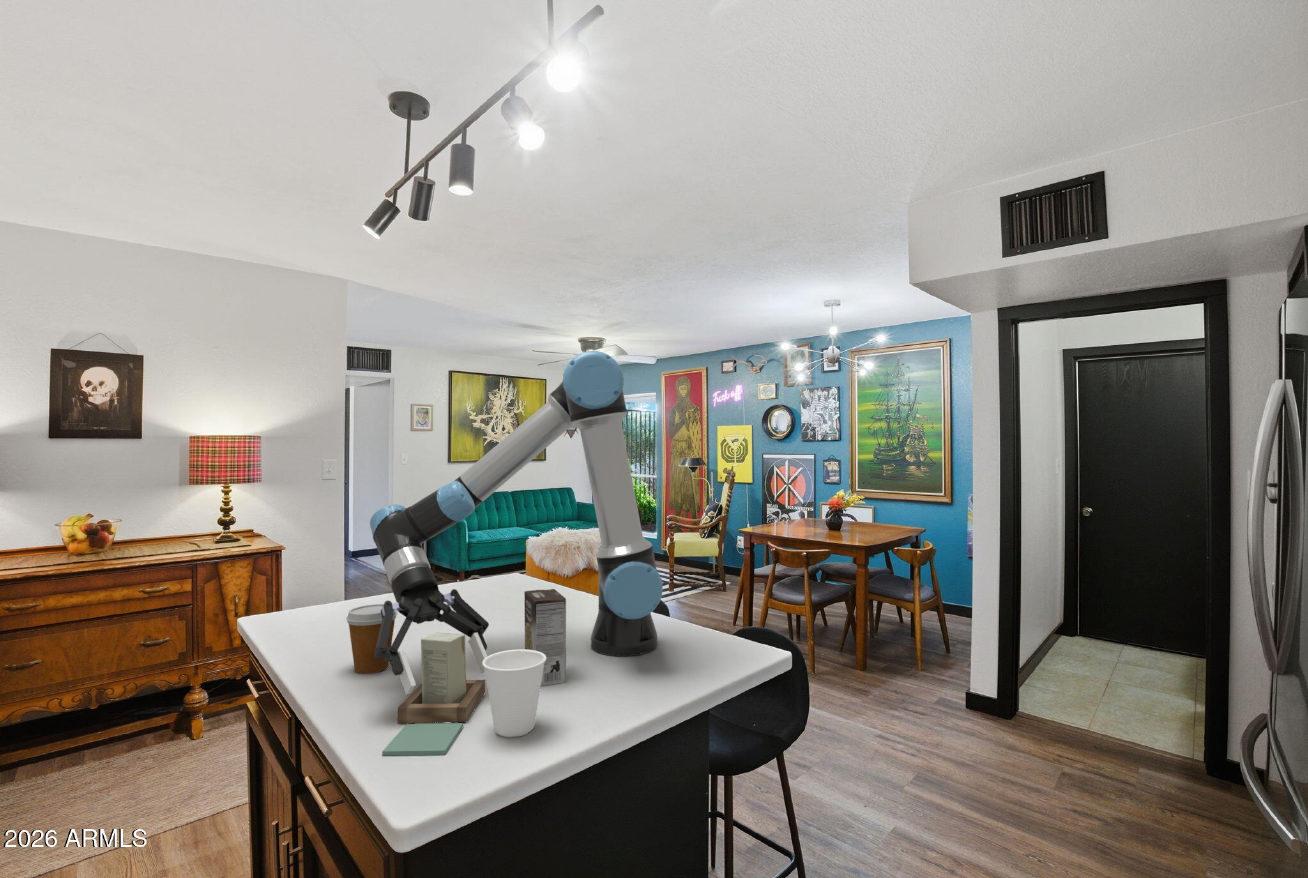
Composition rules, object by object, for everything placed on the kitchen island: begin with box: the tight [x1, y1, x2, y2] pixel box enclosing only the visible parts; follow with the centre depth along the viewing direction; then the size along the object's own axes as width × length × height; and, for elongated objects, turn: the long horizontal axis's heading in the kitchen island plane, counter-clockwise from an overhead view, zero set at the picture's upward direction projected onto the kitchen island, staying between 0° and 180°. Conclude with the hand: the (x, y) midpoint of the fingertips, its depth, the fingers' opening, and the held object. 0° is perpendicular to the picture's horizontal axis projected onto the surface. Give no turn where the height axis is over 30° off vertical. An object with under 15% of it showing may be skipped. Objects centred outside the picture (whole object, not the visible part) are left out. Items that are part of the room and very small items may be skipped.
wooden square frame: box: [396, 679, 486, 725], centre depth 104 cm, size 11×12×2 cm
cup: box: [482, 648, 546, 738], centre depth 96 cm, size 10×10×11 cm
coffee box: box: [524, 588, 567, 687], centre depth 119 cm, size 9×6×16 cm
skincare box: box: [420, 632, 467, 704], centre depth 104 cm, size 6×4×12 cm
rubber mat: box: [381, 723, 464, 757], centre depth 92 cm, size 9×9×1 cm
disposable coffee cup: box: [345, 603, 398, 675], centre depth 124 cm, size 10×10×12 cm
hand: (450, 678), depth 103 cm, fingers open, 13 cm apart
